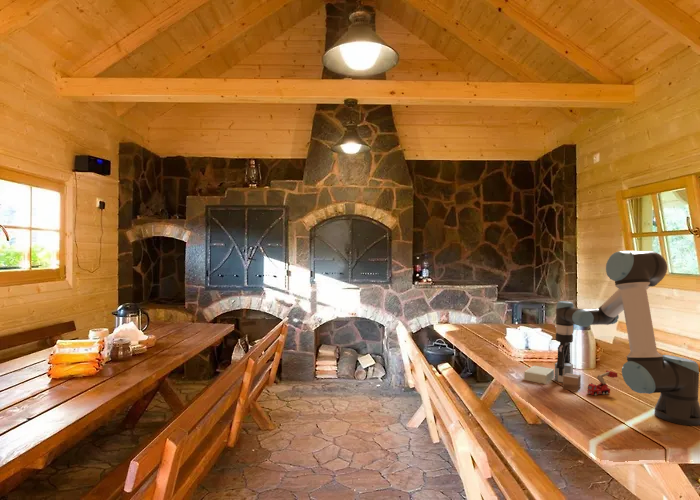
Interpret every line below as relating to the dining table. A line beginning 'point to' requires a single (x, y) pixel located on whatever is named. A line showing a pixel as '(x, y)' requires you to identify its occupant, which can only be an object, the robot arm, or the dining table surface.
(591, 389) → the toy fire truck
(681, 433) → the dining table surface
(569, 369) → the block
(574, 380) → the block
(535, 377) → the plinth
